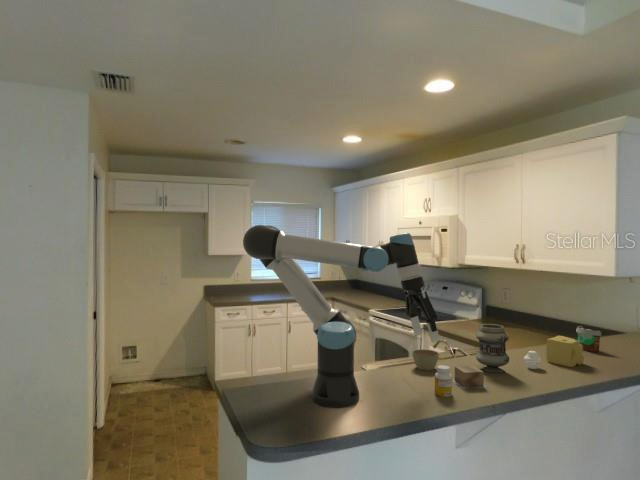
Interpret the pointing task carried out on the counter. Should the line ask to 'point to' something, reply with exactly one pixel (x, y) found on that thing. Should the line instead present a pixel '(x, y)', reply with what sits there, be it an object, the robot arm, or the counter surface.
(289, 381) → the counter surface
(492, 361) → the apothecary jar
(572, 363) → the cheese
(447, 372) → the supplement bottle
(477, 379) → the walnut block
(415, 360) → the flower pot
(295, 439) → the counter surface
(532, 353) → the white rounded lump
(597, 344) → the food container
